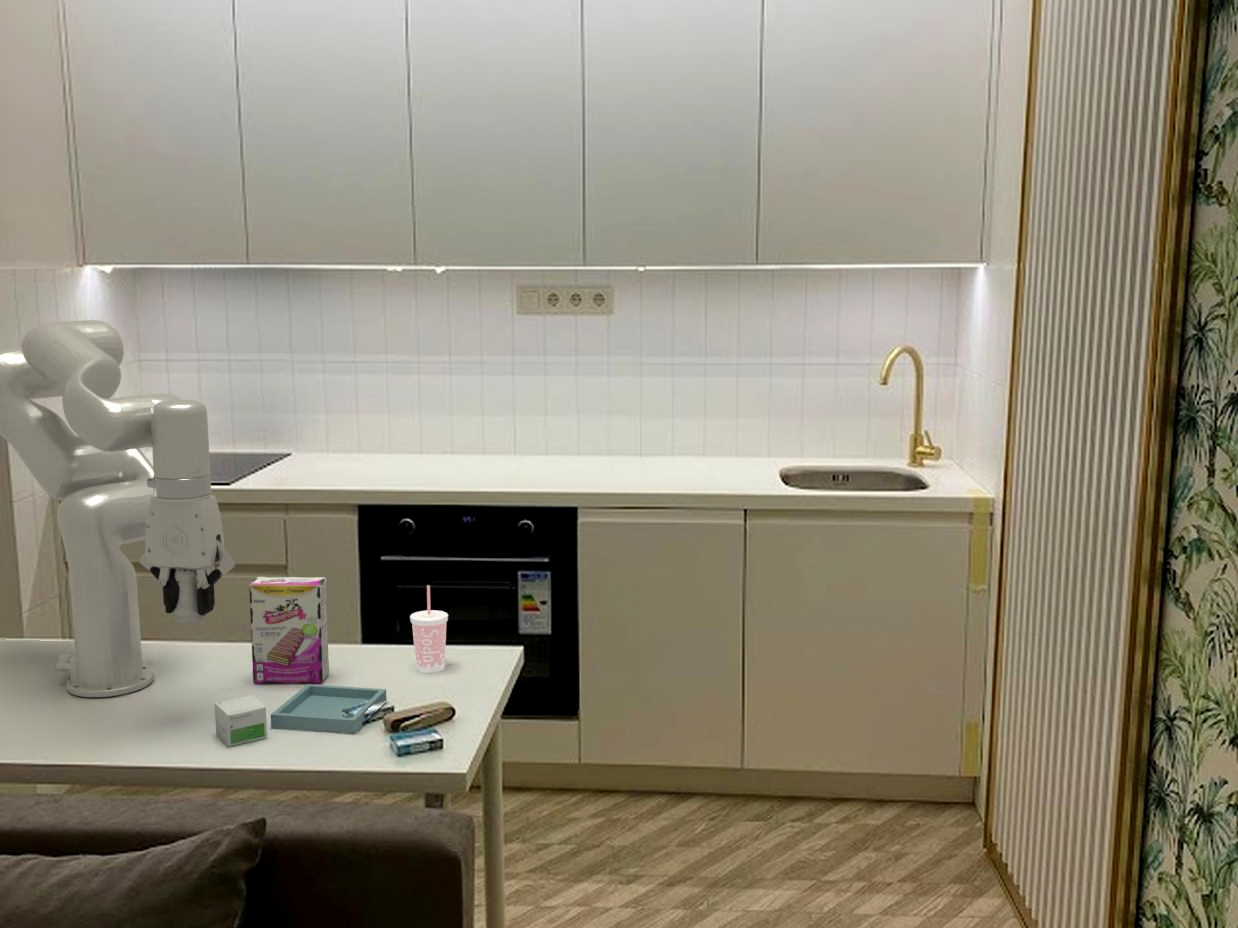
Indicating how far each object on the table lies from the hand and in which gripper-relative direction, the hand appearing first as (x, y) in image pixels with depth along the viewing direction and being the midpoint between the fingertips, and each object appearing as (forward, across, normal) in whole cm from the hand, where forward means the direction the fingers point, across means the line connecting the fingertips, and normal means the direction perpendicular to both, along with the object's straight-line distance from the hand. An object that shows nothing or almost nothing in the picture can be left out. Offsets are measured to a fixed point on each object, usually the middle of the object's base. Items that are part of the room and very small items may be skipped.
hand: (189, 610), depth 173 cm
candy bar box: (+16, +7, +17) cm, 24 cm away
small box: (+16, +10, -6) cm, 20 cm away
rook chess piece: (+2, 0, 0) cm, 2 cm away
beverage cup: (+16, +27, +26) cm, 41 cm away
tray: (+16, +19, +4) cm, 25 cm away
